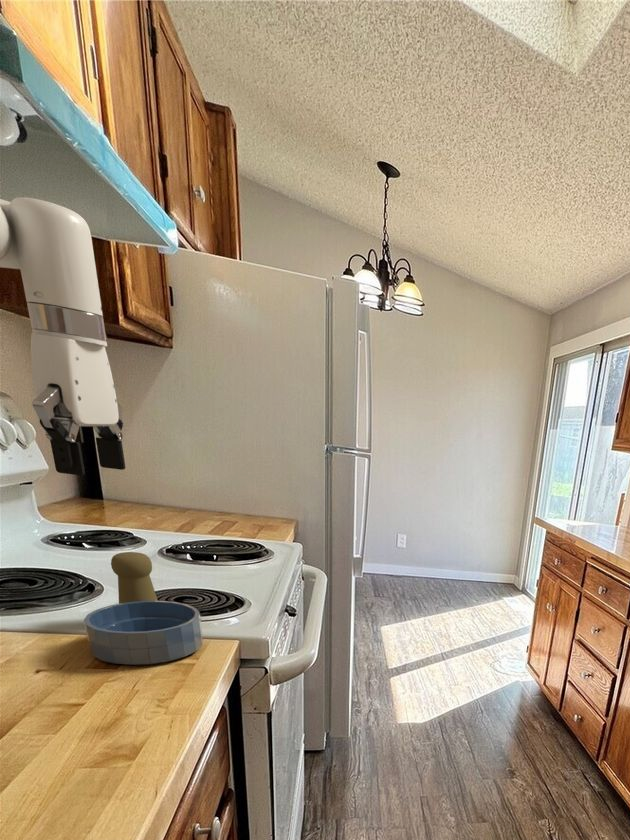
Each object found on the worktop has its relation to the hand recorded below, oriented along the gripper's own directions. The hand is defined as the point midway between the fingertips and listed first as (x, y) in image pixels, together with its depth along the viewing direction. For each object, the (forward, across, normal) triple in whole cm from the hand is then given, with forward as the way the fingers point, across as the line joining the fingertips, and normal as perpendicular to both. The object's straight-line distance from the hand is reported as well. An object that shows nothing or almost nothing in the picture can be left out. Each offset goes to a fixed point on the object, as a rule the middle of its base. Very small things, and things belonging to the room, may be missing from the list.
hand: (93, 470), depth 77 cm
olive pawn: (+23, -2, +2) cm, 23 cm away
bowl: (+23, +8, +8) cm, 25 cm away
